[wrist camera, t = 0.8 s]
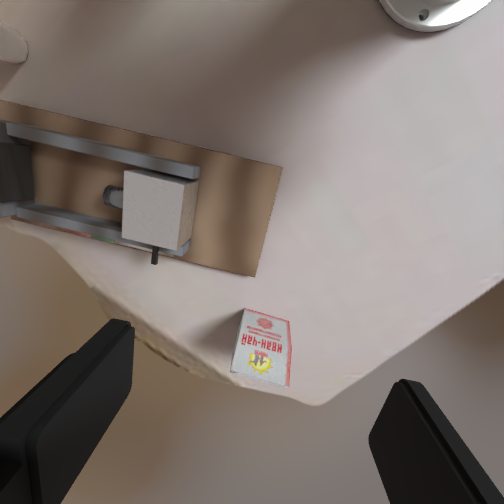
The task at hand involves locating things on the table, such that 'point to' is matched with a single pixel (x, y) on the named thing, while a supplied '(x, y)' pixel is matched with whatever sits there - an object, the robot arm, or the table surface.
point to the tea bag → (263, 349)
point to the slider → (155, 208)
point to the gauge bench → (112, 173)
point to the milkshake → (12, 44)
